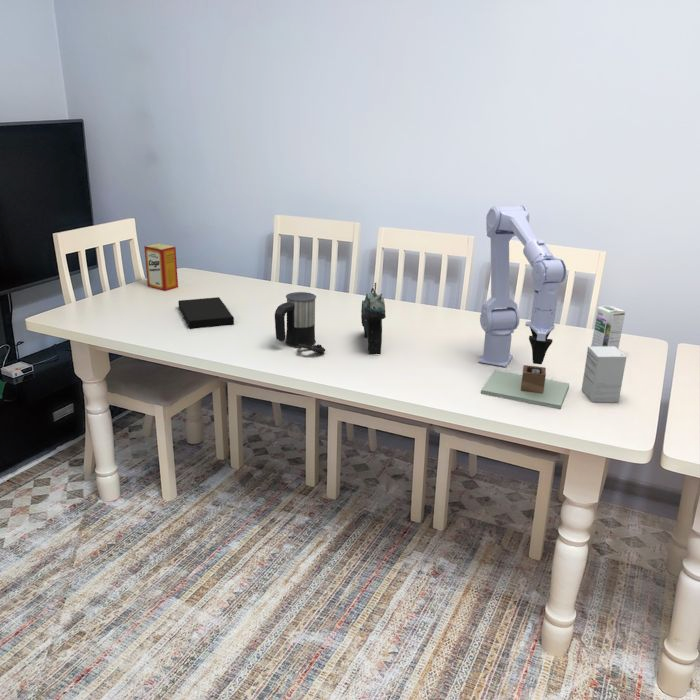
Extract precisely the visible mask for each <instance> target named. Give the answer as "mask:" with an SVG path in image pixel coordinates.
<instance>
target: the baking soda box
mask: <svg viewBox="0 0 700 700" xmlns="http://www.w3.org/2000/svg"><path fill="white" fill-rule="evenodd" d="M144 257H145V258H144V260H145V267H146V268H145V269H146V281H147V287H148V288H151V289H155V290H159V291H163V292H167V291H170V290H173V289H176V288H177V289H178V288H179V280H178V264H177V252H176V246H174V245H169V244H163V243H159V242H158V243H153V244H148V245H144Z"/></svg>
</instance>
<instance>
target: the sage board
mask: <svg viewBox="0 0 700 700" xmlns="http://www.w3.org/2000/svg"><path fill="white" fill-rule="evenodd" d="M521 382H522V374H519V373H514V372H510V371H508V372H507V371H502V370H497V369H494V370H493V372H492V373H491V375H490V376H489V377H488V379H487V381H486V382H485V384H484V385H483V386H482V388H481V389H480V394H482V395H486V396H487V395H488V396H491V395H492V396H491V397H496V396H497V398H501V397H502V398H503V399H506V398H507V400H511V399H512V400H513V401H517V402H523V403H527V404H533V405H537V406H542V407H543V406H544V407H547V408H553V409H559V410H561V408H562V405H563V403H564V400H565V398H566V396H567V393H568V390H569V388H570V382H569V383H567V382H562V381H557V380H552V379H547V378H545V384H544V391H543V394H542V393H534V392H526V391H521ZM512 400H511V401H512Z"/></svg>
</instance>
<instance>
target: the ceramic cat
mask: <svg viewBox="0 0 700 700" xmlns="http://www.w3.org/2000/svg"><path fill="white" fill-rule="evenodd" d="M376 290H377V282H375V283H374V288H373V287H372V288H371V290H370V292H367V293H366V295H365V299H364V300H363V299H362V301H361V311H360V313H361V314H360V316H361V317H360V319H361V326H362V327H363V335H364V338H366V339H367V351H368V354H369V355H370V354H380V355H381V353H382V341H383V320H384V319H386V317H387V315H386V304H385V302H386V301H385V299H384V297H383V293H380V294H379V295H378V293H377V291H376Z"/></svg>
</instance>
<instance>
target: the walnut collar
mask: <svg viewBox="0 0 700 700" xmlns="http://www.w3.org/2000/svg"><path fill="white" fill-rule="evenodd" d="M532 369H538V370H540V373H532ZM546 370H547V368H546V367H542V366H536V365H529V364H528V365H526V364H524V365H523V367H522V374H521V375H522V382H521V391H526V392H534V393H542V394H543V391H544V384H545V379H546V375H547V373H546Z"/></svg>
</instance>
